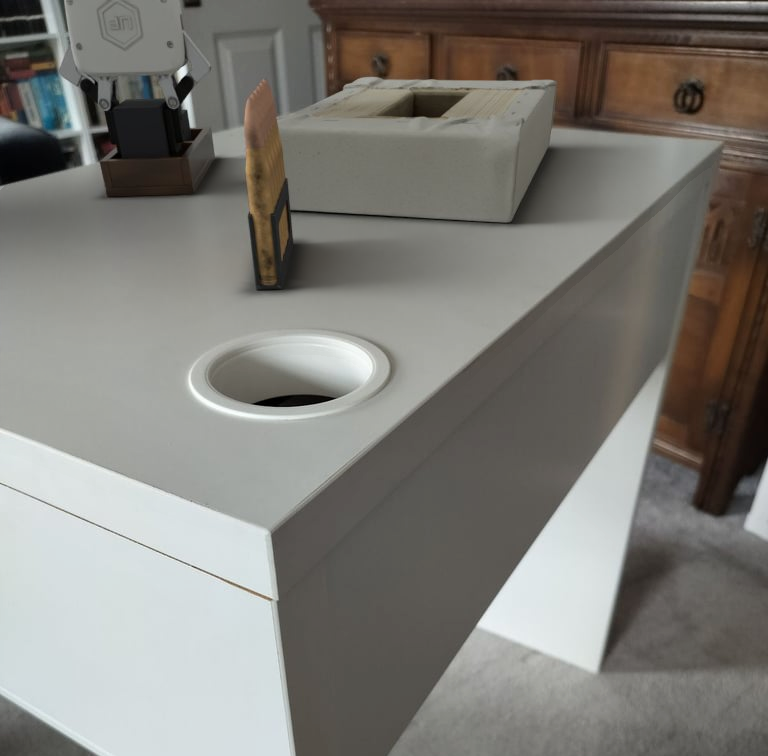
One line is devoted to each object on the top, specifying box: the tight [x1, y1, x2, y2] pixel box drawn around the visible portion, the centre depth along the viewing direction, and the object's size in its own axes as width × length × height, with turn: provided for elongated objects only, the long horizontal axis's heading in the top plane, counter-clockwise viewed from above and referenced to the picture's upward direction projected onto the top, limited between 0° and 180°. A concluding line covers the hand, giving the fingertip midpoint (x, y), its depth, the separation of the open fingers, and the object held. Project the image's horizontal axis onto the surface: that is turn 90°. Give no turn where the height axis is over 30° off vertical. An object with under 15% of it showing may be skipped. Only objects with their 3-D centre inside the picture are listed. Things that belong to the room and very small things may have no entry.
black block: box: [113, 97, 172, 159], centre depth 78 cm, size 4×6×5 cm
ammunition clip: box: [243, 78, 294, 291], centre depth 56 cm, size 11×2×12 cm, turn 1°
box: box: [277, 76, 558, 223], centre depth 79 cm, size 23×8×32 cm
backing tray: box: [99, 126, 216, 198], centre depth 83 cm, size 9×16×3 cm, turn 3°
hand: (150, 149), depth 79 cm, fingers closed on black block, 4 cm apart
